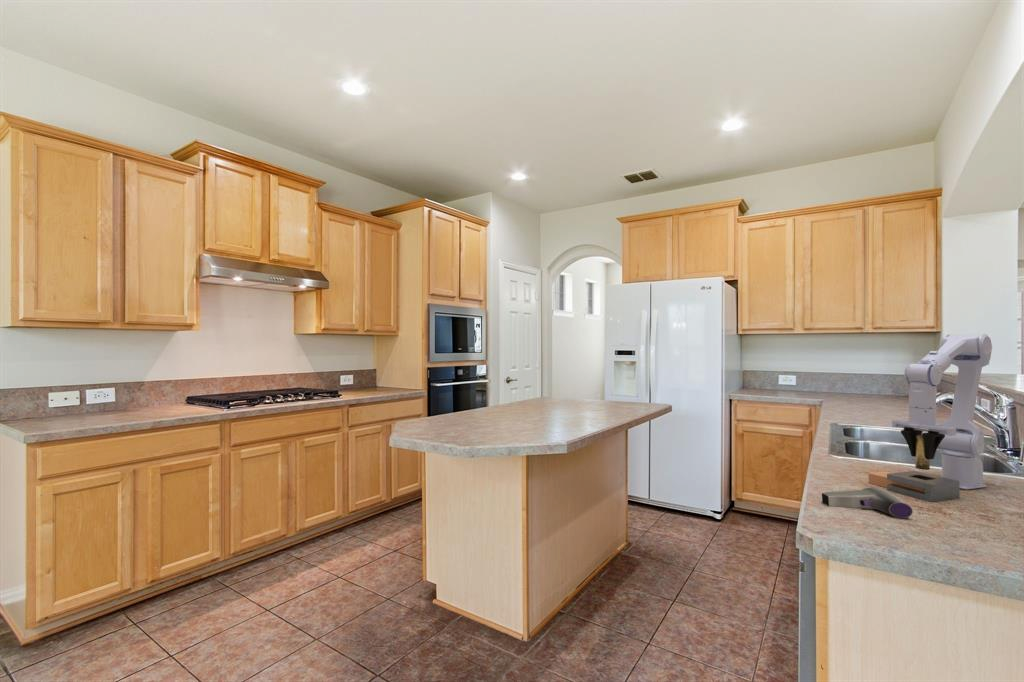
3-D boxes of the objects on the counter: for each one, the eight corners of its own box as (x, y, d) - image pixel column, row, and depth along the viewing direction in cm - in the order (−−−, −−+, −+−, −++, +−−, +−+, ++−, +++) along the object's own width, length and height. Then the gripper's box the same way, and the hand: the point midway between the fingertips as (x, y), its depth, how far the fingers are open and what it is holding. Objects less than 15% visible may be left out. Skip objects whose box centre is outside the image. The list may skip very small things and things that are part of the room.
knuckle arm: (885, 481, 145) (885, 471, 145) (946, 496, 131) (946, 485, 131) (868, 483, 143) (868, 473, 143) (928, 499, 128) (928, 488, 128)
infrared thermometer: (820, 505, 126) (881, 504, 125) (847, 522, 114) (916, 521, 113) (818, 487, 127) (880, 486, 125) (846, 502, 114) (914, 501, 113)
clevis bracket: (913, 486, 140) (914, 470, 140) (959, 498, 129) (959, 481, 129) (886, 489, 136) (886, 473, 136) (931, 502, 126) (931, 484, 126)
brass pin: (920, 466, 135) (920, 434, 135) (932, 469, 132) (932, 436, 132) (912, 467, 134) (912, 434, 134) (924, 470, 131) (924, 436, 131)
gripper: (884, 404, 139) (884, 452, 139) (943, 411, 125) (943, 464, 125) (901, 404, 141) (901, 451, 141) (961, 410, 127) (961, 462, 127)
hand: (922, 457), depth 133 cm, fingers closed on brass pin, 3 cm apart
